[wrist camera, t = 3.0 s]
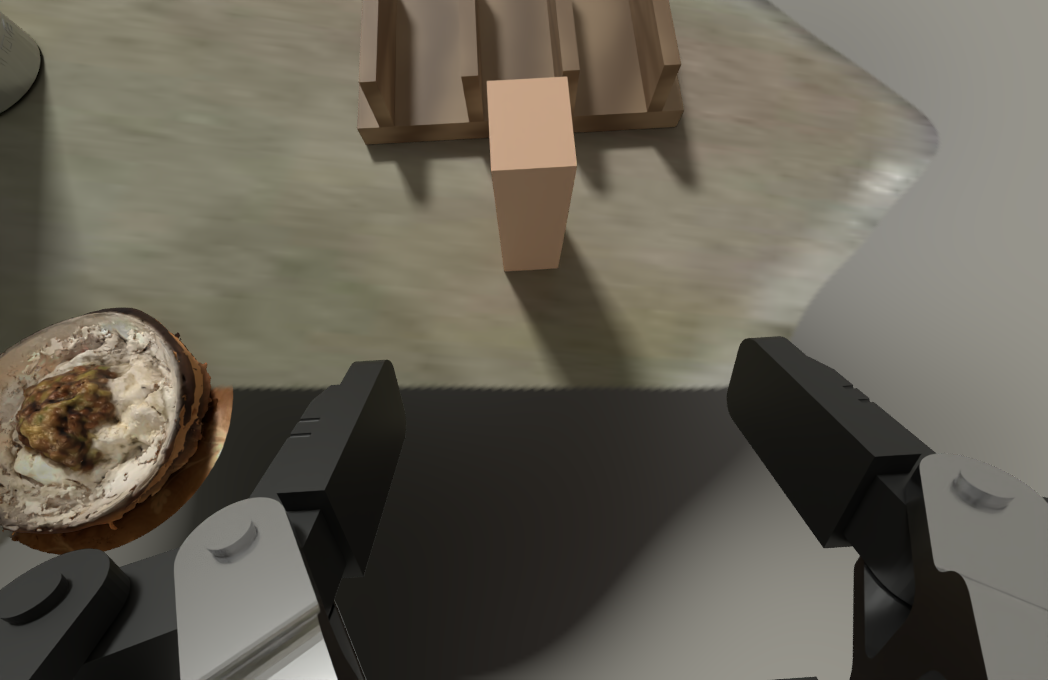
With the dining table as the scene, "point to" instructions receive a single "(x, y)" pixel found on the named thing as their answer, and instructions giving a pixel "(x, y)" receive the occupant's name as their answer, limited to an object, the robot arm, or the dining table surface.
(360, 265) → the dining table surface
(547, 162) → the clay block
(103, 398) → the pie
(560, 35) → the walnut rack
